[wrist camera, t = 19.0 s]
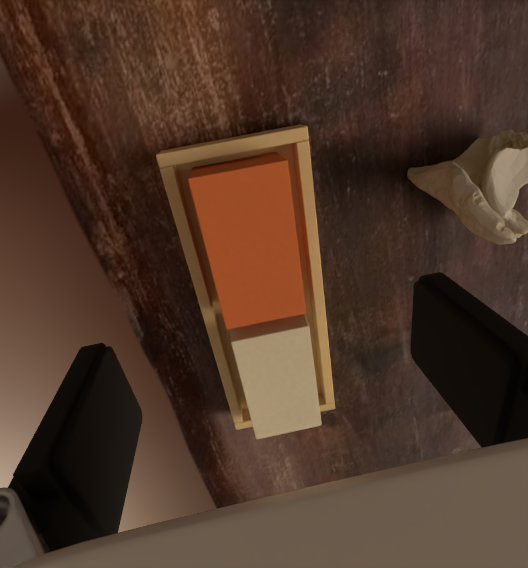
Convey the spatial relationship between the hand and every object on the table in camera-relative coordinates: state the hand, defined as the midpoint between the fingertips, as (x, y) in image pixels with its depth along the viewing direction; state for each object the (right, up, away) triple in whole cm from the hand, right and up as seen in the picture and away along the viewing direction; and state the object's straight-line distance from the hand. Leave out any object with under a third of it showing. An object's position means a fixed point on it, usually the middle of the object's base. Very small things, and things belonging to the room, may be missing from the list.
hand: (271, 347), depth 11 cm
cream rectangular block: (+1, -4, +19) cm, 19 cm away
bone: (+14, +10, +15) cm, 22 cm away
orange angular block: (-1, +6, +14) cm, 15 cm away
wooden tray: (0, +1, +17) cm, 17 cm away
